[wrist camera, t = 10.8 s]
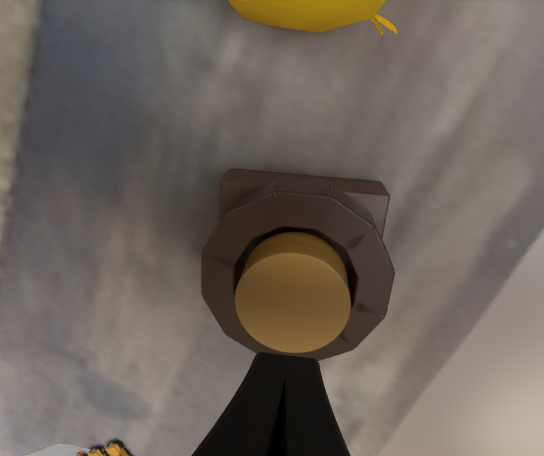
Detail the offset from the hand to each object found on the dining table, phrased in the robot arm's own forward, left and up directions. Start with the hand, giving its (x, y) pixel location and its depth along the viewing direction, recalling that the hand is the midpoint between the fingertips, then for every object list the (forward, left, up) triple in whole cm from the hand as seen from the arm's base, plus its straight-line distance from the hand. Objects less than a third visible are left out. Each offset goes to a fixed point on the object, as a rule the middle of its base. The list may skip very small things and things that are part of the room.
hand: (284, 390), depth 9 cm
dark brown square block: (0, 0, -8) cm, 8 cm away
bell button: (0, 0, -5) cm, 5 cm away
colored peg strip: (-15, +12, -9) cm, 21 cm away
